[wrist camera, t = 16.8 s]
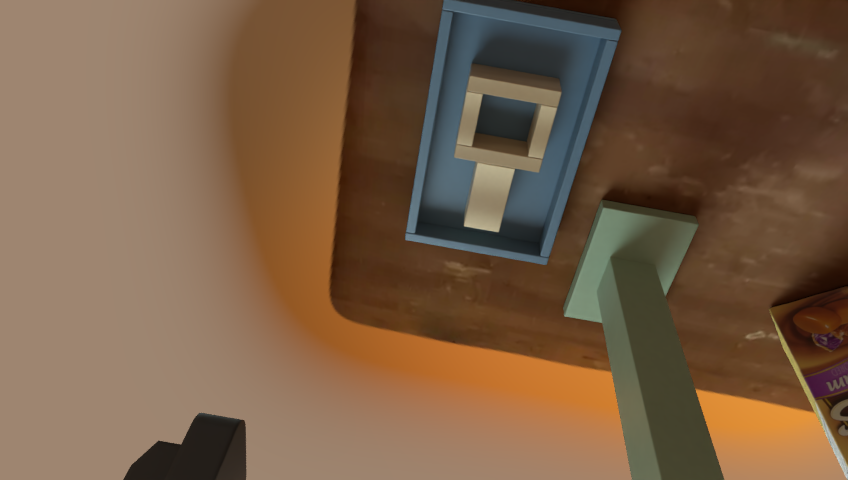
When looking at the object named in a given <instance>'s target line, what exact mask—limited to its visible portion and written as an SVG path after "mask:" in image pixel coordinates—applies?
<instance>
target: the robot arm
mask: <svg viewBox="0 0 848 480" xmlns="http://www.w3.org/2000/svg"><path fill="white" fill-rule="evenodd" d="M124 480H246V427H245V421H244V420H239V419H234V418H227V417H222V416H216V415H211V414H205V413H199V414H198V415H197V416H196V417H195V419H194V420H193V422H192V424H191V426H190V428H189V430H188V432H187V434H186V436H185V438H184V440H183V442H182V444H181V445H180V444H174V443H168V442H163V441H158V442H157V443H156V444H154V445H153V446H152V447H151V448H150V449H149V450H148V451H147V452H146V453H144V454H143V455H142V456H141V457H140V458H139V459H138V460H137V461H136V462H134V463H133V464H132V465H131V467H130V469H129V470H128V472H127V474H126V476H125V478H124Z"/></svg>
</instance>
